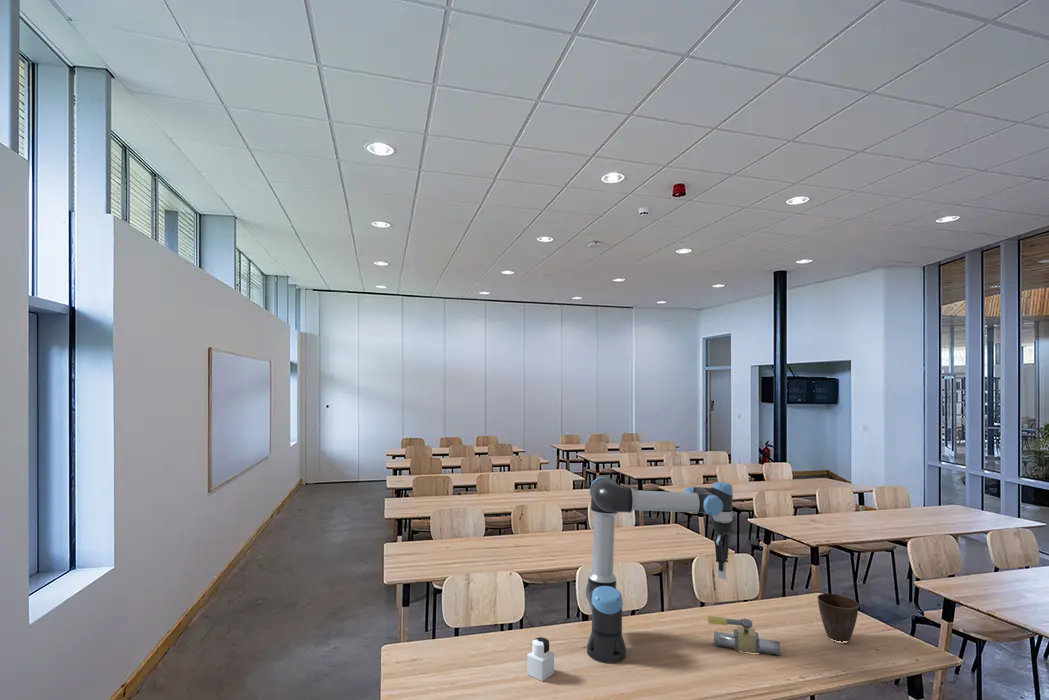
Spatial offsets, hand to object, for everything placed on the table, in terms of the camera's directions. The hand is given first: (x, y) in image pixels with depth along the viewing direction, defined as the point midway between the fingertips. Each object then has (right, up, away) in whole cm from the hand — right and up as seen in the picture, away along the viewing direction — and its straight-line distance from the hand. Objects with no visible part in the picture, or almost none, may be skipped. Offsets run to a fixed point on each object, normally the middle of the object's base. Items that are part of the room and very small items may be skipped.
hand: (721, 578), depth 226 cm
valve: (+6, -24, -10) cm, 27 cm away
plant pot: (+48, -26, -1) cm, 54 cm away
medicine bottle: (-76, -22, -31) cm, 85 cm away
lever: (0, -15, -9) cm, 17 cm away
